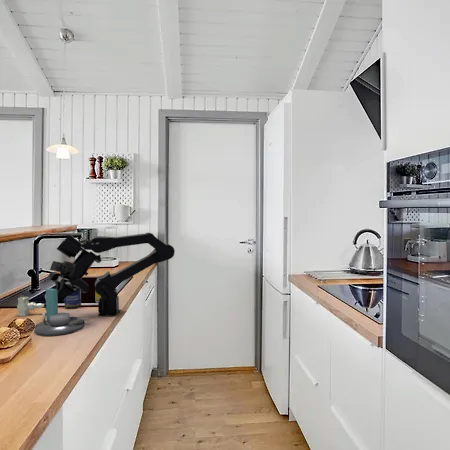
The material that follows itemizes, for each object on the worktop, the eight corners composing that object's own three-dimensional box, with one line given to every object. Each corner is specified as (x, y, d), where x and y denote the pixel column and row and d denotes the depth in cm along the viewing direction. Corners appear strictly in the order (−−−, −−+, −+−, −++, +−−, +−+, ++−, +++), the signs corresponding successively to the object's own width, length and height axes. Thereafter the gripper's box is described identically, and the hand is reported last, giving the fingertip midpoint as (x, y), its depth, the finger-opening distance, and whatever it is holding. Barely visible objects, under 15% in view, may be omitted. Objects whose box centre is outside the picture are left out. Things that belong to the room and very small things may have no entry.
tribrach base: (94, 323, 123) (94, 310, 122) (60, 338, 109) (59, 323, 108) (60, 319, 128) (59, 306, 128) (23, 333, 114) (22, 319, 114)
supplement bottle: (101, 303, 148) (100, 280, 148) (92, 302, 151) (92, 279, 151) (111, 301, 153) (111, 278, 153) (103, 299, 156) (102, 277, 155)
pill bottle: (65, 309, 140) (64, 281, 140) (64, 306, 146) (63, 279, 145) (82, 307, 143) (81, 280, 142) (80, 304, 148) (79, 277, 148)
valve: (14, 318, 130) (49, 316, 132) (13, 300, 130) (48, 298, 132) (21, 313, 137) (54, 311, 139) (20, 295, 136) (54, 294, 138)
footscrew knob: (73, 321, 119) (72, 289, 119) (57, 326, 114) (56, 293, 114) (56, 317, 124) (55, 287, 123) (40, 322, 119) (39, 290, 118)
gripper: (51, 249, 130) (21, 286, 122) (79, 254, 118) (47, 294, 111) (73, 268, 137) (45, 303, 129) (101, 273, 125) (72, 312, 117)
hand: (52, 303), depth 121 cm, fingers closed, pressing on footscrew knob
